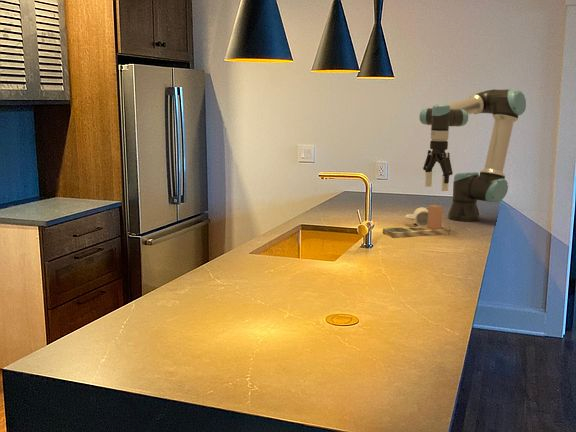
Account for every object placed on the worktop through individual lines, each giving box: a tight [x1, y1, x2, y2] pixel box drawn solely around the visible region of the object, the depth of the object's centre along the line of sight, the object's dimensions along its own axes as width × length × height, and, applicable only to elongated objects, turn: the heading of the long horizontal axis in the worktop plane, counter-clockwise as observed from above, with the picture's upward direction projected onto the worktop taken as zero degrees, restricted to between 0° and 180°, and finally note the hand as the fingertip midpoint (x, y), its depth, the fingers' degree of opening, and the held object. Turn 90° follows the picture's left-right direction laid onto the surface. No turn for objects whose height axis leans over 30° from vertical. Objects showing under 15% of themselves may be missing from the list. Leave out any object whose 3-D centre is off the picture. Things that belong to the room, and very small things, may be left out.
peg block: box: [427, 204, 444, 230], centre depth 292 cm, size 4×4×12 cm
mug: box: [405, 206, 428, 226], centre depth 307 cm, size 12×10×8 cm
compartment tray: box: [382, 225, 451, 239], centre depth 290 cm, size 28×10×2 cm, turn 109°
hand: (436, 188), depth 289 cm, fingers open, 13 cm apart
